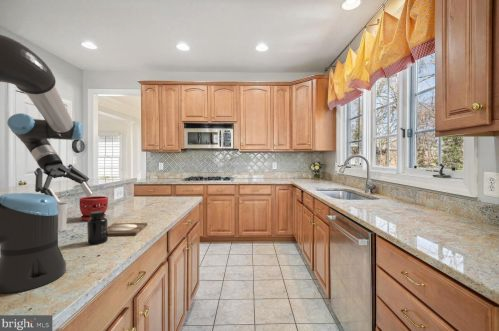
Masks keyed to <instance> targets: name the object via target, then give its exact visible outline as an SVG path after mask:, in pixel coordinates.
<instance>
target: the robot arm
mask: <svg viewBox="0 0 499 331" xmlns="http://www.w3.org/2000/svg"><path fill="white" fill-rule="evenodd" d="M0 83H6V84H12V85H14V86H15V87H16V88H17V89H18V90H20V92H23V93H24V94H26V95H27V97H28V98H29V99H30V100H31V102H32V104H33V105H34V106H35V108H36V109H37V111H38V112H39V113H40V114H41V116H42V118H43V119H36V118H33V117H31V115H29V114H27V113H14V114H12V115H11V116H10V117H9V118H8V119H7V123H6V124H7V126H8V128H9V129H10V130H11V131H10V132H12V133H13V134H14V135H15V136H16V137H17V138H18V139H19V140H20V141H21V143H23V144H24V146H25V147H26V149H27V150H28V151H29V153H30V154H31V155H32V157H33V159H34V161H35V162H37V163H36V164H37V165H38V166H39V167H37V168H36V169H35V171H33V173H34V175H35V184H34V185H35V186H34V187H35V188H34V191H35V193H32V192H31V193H30V192H29V193H28V192H21V193H16V192H15V193H14V192H13V193H3V194H2V195H0V294H9V293H19V292H23V291H24V292H25V291H28V290H29V291H30V290H33V289H35V288H39V287H42V286H45V285H47V284H49V283H52V282H54V281H56V280H58V279H59V278H61V277H63V275H65V274H66V272H67V263H66V260H65V259H64V256H63V254H62V251H61V250H60V247H59V231H58V213H59V212H58V209H57V205H58V204H59V203H61V200H60V199H59V197H58V196H57V194H56V193H55V192H54V190H53V189H52V187H50V185H51V182H52V180H53V178H54V179H57V178H62V177H63V178H64V179H66V178H67V179H69V180H71V181H74V182H76V183H78V184H79V187H80V188H81V190H82V191H83V192H84V194H85V195H86V197H92V195H93V192H92V190H91V189H90V185H89V184H88V181H89V180H90V177H88V176H87V175H85V174H84V173H82V172H81V171H79V170H78V169H77V168H75V167H74V165H73V164H72V163H71V164H68V165H64V163H63V161H62V158H61V157H60V156H59V155H58V153H57V152H56V150H55V148H54V147H53V146H52V144H51V143H50V142H49V140H63V141H64V140H67V141H73V140H74V141H77V140H82V139H83V137H84V125H83V123H82V122H80V121H76V120H73V119H72V117H71V115H70V113H69V112H68V109H67V108H66V105H65V103H64V102H63V100H62V98H61V96H60V94H59V91H58V90H57V88H56V84H57V81H56V77H55V76H54V73H53V71H52V69H51V68H50V67H49V66H48V64H47V63H46V62H45V61H44V60H43V59H42V58H41V57H39V56H38V55H37V54H36V52H33V50H31V49H30V48H28V47H27V46H26V45H24V44H22V43H21V42H19V41H17V40H15V39H13V38H11V37H9V36H6V35H4V34H3V35H2V34H0ZM43 174H45V175H46V179H45V181H44V184H43V177H44V176H43ZM49 187H50V188H49ZM39 192H40V193H39Z"/></svg>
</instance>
